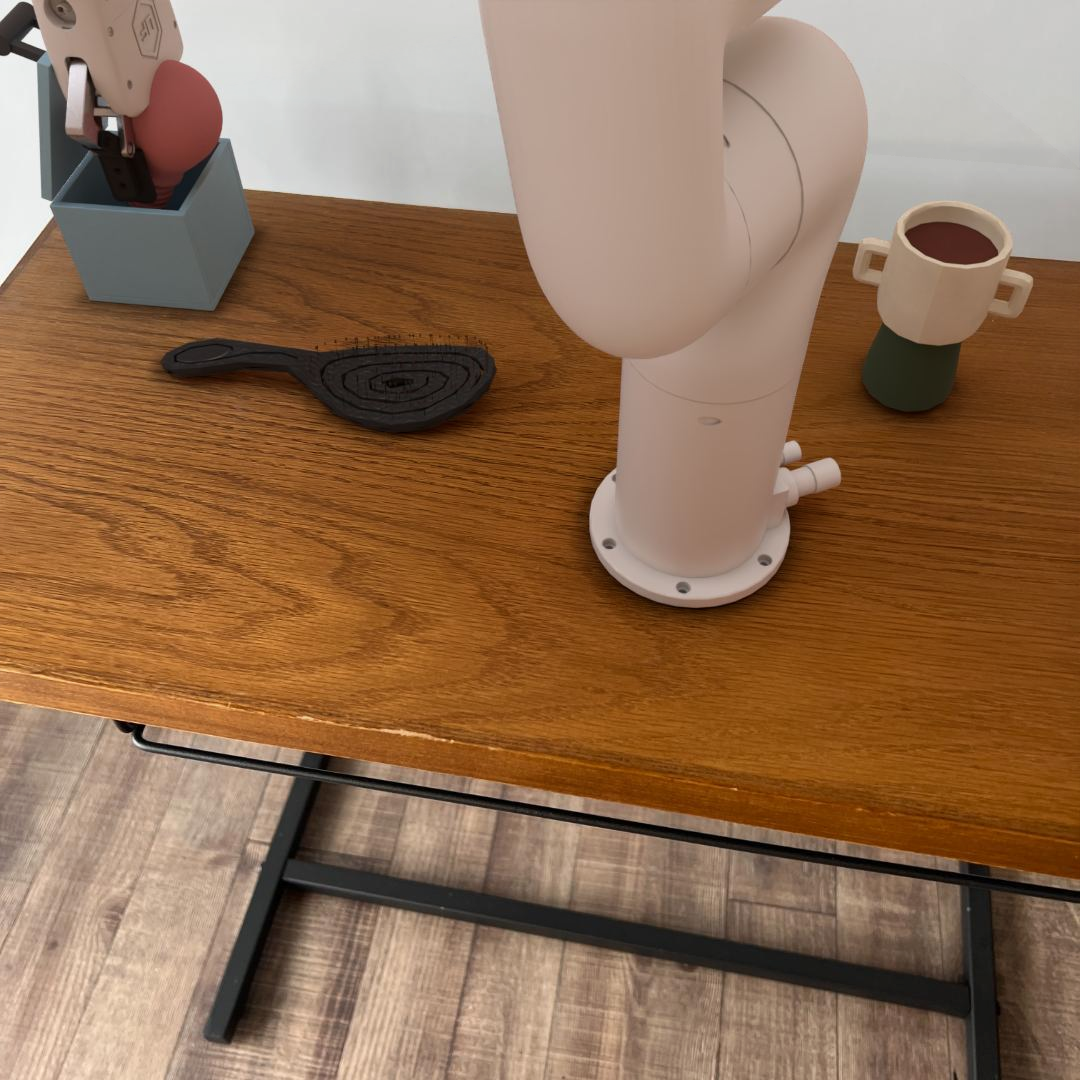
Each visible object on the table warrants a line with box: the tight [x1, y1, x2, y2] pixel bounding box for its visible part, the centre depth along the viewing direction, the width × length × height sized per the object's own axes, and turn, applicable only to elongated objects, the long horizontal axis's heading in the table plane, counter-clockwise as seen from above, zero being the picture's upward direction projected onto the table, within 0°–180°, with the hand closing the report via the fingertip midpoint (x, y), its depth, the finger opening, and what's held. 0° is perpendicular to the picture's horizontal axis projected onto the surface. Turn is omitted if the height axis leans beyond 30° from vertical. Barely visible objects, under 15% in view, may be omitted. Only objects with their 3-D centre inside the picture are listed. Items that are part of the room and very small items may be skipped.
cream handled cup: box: [852, 199, 1034, 413], centre depth 72 cm, size 11×7×13 cm, turn 66°
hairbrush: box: [160, 333, 498, 434], centre depth 77 cm, size 8×4×25 cm
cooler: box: [49, 129, 256, 312], centre depth 84 cm, size 10×10×9 cm
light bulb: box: [127, 60, 224, 210], centre depth 78 cm, size 7×7×12 cm
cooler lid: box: [0, 1, 109, 203], centre depth 76 cm, size 11×10×5 cm
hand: (155, 169), depth 80 cm, fingers closed on light bulb, 6 cm apart
